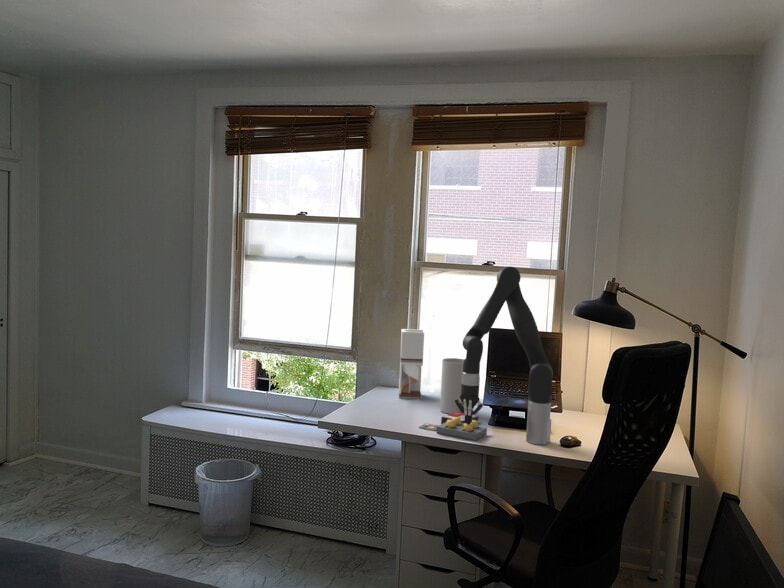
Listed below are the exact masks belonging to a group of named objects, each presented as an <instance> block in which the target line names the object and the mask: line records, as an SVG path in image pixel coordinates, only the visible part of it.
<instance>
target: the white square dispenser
mask: <svg viewBox="0 0 784 588" xmlns="http://www.w3.org/2000/svg"><path fill="white" fill-rule="evenodd" d="M400 331H401V334H400V336H401V337H400V357H399V359H400V360H399V362H400V363H399V378H398V379H399V380H398V381H399V382H398V399H399V400H400V399H401V400H419V401H421V400H422V393H421V388H422V387H421V385H422V367H423V365H424V344H425V332H424V329H415V328H414V329H412V328H401V330H400Z"/></svg>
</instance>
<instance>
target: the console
mask: <svg viewBox="0 0 784 588" xmlns="http://www.w3.org/2000/svg"><path fill="white" fill-rule="evenodd" d="M436 434H438V435H443V436H448V437H453V438H456V439H457V438H458V439H462V440H466V441H471V442H477V441H479V440H480V439H482V438H484V437H485V436H487V434H488V427H485V426H480V425H478V429H472V432H466V431H464V423H461V424H460V426H456V425H455V428H454V429H450V428H447V422H445V423H443V424H441V423H440V424H439V425H438V426H437V431H436Z"/></svg>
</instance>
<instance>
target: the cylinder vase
mask: <svg viewBox="0 0 784 588" xmlns="http://www.w3.org/2000/svg"><path fill="white" fill-rule="evenodd" d="M464 359H465V358H456V357H453V358H452V357H451V358H449V357H448V358H443V359H442V362H441V363H442V364H441V383H440V384H441V385H440V386H441V387H440V401H439V402H440V403H439V405H440V407H439V410H440V411H441V412H442V413H444V414H447V415H448V414H452V413H455V412H461V411H460V410H459V408H458V406H457V405H456V403H455V400H457V399H459V398H460V395H461V380H462V373H463V362H464ZM462 405H463V403H462ZM463 406H464V405H463Z"/></svg>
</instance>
